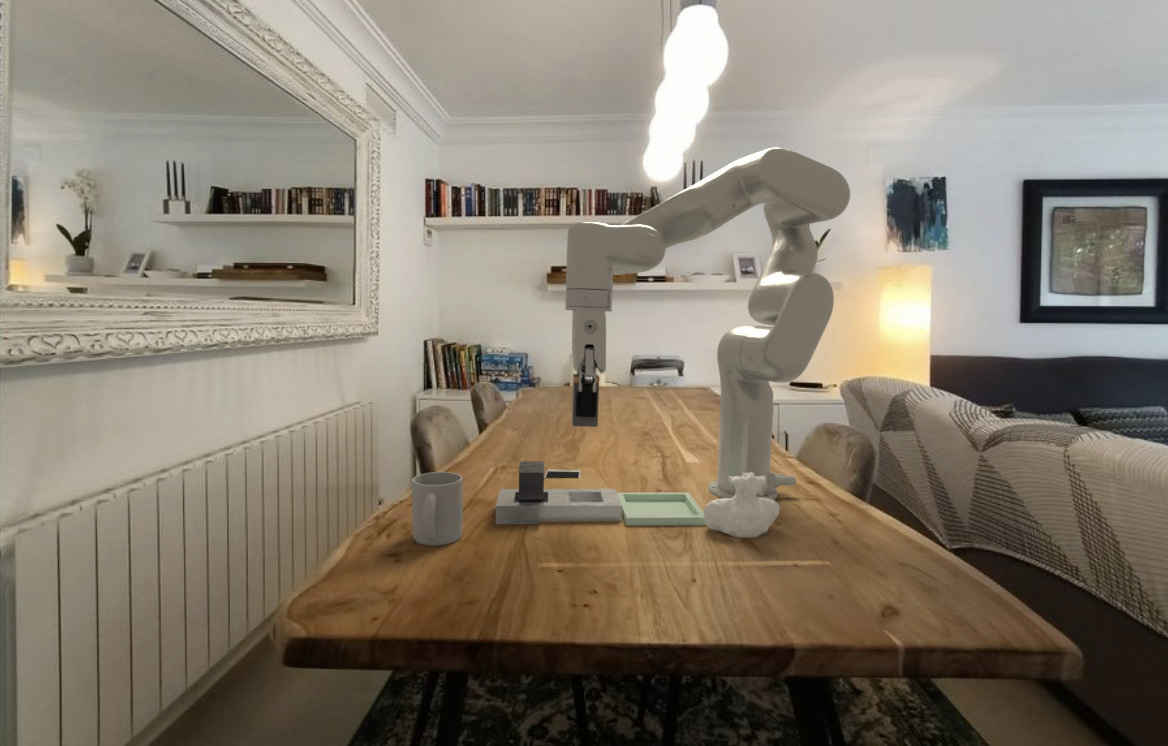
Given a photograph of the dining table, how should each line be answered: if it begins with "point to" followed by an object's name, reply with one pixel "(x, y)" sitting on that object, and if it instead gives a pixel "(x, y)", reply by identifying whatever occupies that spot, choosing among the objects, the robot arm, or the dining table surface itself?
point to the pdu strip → (553, 501)
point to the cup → (437, 508)
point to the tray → (660, 509)
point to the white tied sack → (742, 509)
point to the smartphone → (562, 473)
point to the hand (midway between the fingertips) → (584, 413)
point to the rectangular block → (575, 420)
